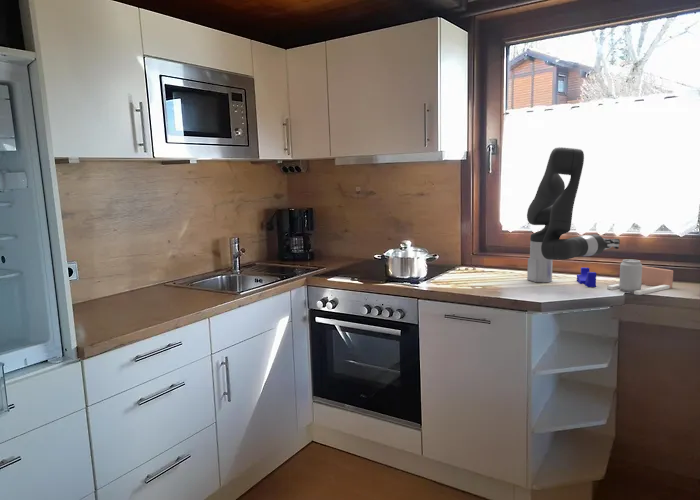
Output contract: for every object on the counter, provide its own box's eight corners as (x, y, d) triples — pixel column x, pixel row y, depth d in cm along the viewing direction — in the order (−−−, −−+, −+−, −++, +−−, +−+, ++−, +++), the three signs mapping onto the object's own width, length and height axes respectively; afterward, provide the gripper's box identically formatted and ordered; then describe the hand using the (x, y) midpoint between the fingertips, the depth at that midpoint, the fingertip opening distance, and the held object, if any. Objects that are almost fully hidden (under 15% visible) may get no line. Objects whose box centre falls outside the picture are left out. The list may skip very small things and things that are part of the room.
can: (620, 291, 201) (621, 261, 199) (618, 287, 207) (619, 258, 206) (642, 293, 198) (643, 262, 196) (639, 289, 205) (641, 259, 203)
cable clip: (576, 281, 222) (577, 267, 222) (587, 281, 222) (588, 267, 221) (583, 287, 211) (584, 272, 210) (595, 287, 210) (596, 272, 209)
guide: (639, 295, 195) (640, 276, 194) (607, 288, 206) (608, 271, 205) (672, 287, 206) (673, 270, 205) (640, 282, 217) (641, 265, 216)
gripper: (605, 236, 180) (635, 233, 189) (572, 233, 192) (601, 230, 200) (604, 258, 181) (634, 253, 190) (571, 253, 193) (600, 249, 201)
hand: (617, 241), depth 195 cm, fingers closed
